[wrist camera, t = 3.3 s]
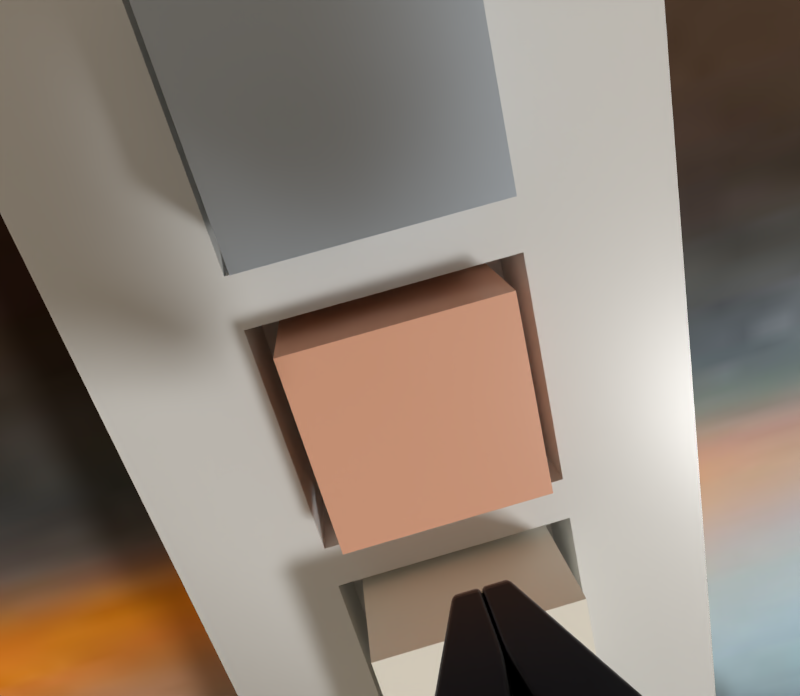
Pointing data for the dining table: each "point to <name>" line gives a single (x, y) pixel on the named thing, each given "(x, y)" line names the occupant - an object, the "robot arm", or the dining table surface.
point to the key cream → (432, 594)
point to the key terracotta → (415, 405)
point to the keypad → (355, 278)
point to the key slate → (329, 116)
